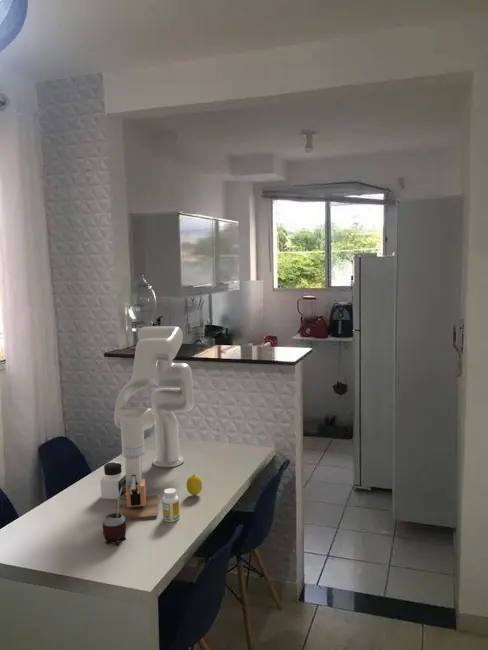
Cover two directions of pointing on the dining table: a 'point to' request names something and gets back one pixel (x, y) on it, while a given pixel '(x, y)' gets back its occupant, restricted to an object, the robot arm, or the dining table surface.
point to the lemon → (194, 484)
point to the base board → (139, 509)
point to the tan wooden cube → (141, 490)
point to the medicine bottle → (113, 481)
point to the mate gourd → (114, 526)
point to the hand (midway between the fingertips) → (136, 500)
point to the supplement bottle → (170, 505)
